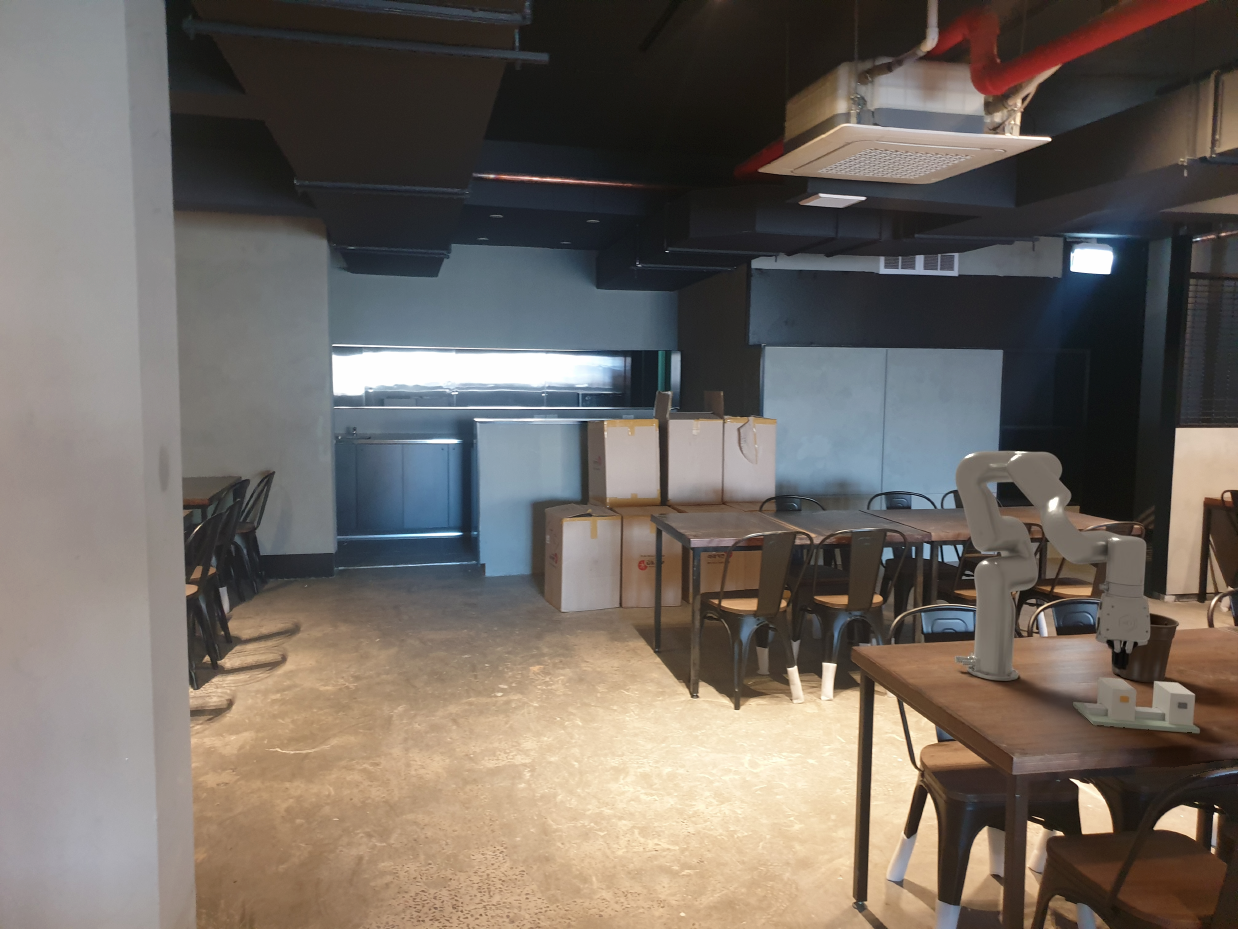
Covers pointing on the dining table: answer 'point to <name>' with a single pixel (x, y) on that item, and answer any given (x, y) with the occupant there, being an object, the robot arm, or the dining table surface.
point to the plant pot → (1151, 652)
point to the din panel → (1136, 722)
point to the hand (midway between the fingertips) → (1119, 667)
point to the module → (1117, 698)
